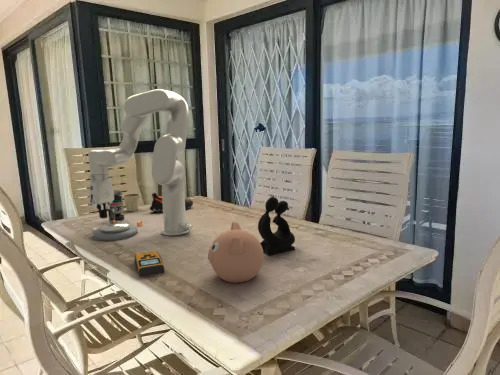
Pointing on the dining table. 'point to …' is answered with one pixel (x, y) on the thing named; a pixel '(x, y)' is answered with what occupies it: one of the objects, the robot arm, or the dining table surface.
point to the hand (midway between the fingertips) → (103, 217)
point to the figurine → (282, 236)
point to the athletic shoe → (158, 205)
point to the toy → (236, 255)
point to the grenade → (117, 205)
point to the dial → (114, 224)
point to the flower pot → (131, 201)
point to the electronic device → (148, 263)
